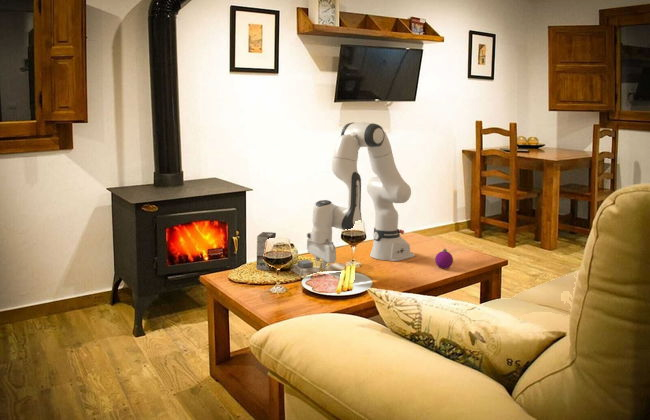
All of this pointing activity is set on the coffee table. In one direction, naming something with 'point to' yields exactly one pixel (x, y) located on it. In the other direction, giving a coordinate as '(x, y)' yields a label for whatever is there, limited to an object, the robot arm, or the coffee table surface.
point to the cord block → (309, 264)
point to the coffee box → (260, 249)
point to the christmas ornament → (444, 259)
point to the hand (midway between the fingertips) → (320, 267)
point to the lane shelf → (316, 269)
